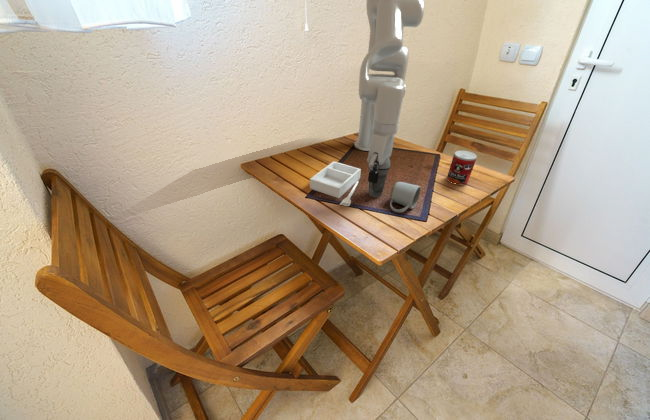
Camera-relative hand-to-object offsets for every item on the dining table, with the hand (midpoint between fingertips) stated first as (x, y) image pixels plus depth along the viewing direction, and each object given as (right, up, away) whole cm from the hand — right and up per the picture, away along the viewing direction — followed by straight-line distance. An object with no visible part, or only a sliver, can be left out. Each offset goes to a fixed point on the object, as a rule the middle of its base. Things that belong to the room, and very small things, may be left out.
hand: (377, 176), depth 97 cm
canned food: (+33, 0, +14) cm, 36 cm away
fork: (-9, -6, +4) cm, 12 cm away
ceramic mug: (+8, -10, -1) cm, 13 cm away
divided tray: (-14, -1, +10) cm, 17 cm away
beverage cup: (0, -6, +4) cm, 7 cm away
